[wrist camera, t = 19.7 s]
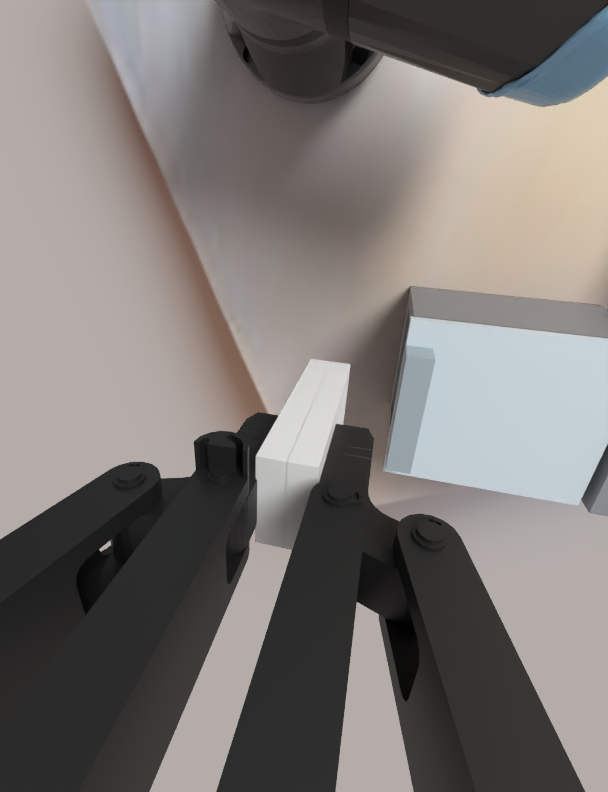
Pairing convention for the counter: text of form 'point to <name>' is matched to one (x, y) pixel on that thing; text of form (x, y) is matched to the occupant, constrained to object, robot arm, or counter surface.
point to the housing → (582, 319)
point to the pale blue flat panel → (500, 409)
